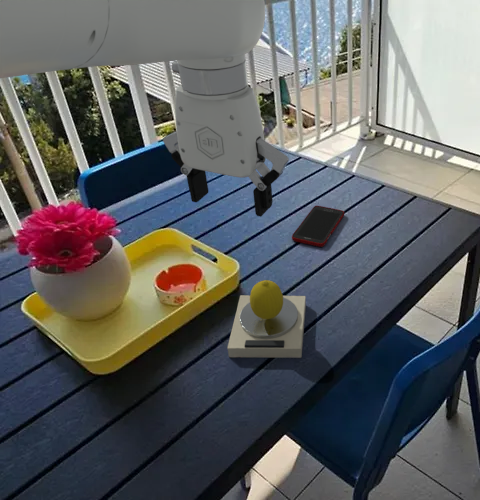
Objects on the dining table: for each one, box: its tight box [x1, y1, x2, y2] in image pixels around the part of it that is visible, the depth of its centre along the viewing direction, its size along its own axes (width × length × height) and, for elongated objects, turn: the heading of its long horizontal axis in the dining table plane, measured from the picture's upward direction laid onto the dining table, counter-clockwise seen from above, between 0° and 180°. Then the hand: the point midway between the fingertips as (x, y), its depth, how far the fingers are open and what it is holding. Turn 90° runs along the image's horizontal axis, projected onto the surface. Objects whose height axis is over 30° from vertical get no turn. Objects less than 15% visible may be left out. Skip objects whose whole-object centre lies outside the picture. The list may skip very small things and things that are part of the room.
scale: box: [227, 294, 307, 359], centre depth 87 cm, size 13×12×3 cm
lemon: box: [249, 279, 284, 319], centre depth 84 cm, size 6×6×8 cm
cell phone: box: [291, 205, 345, 248], centre depth 114 cm, size 8×15×1 cm, turn 162°
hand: (231, 204), depth 68 cm, fingers open, 9 cm apart
